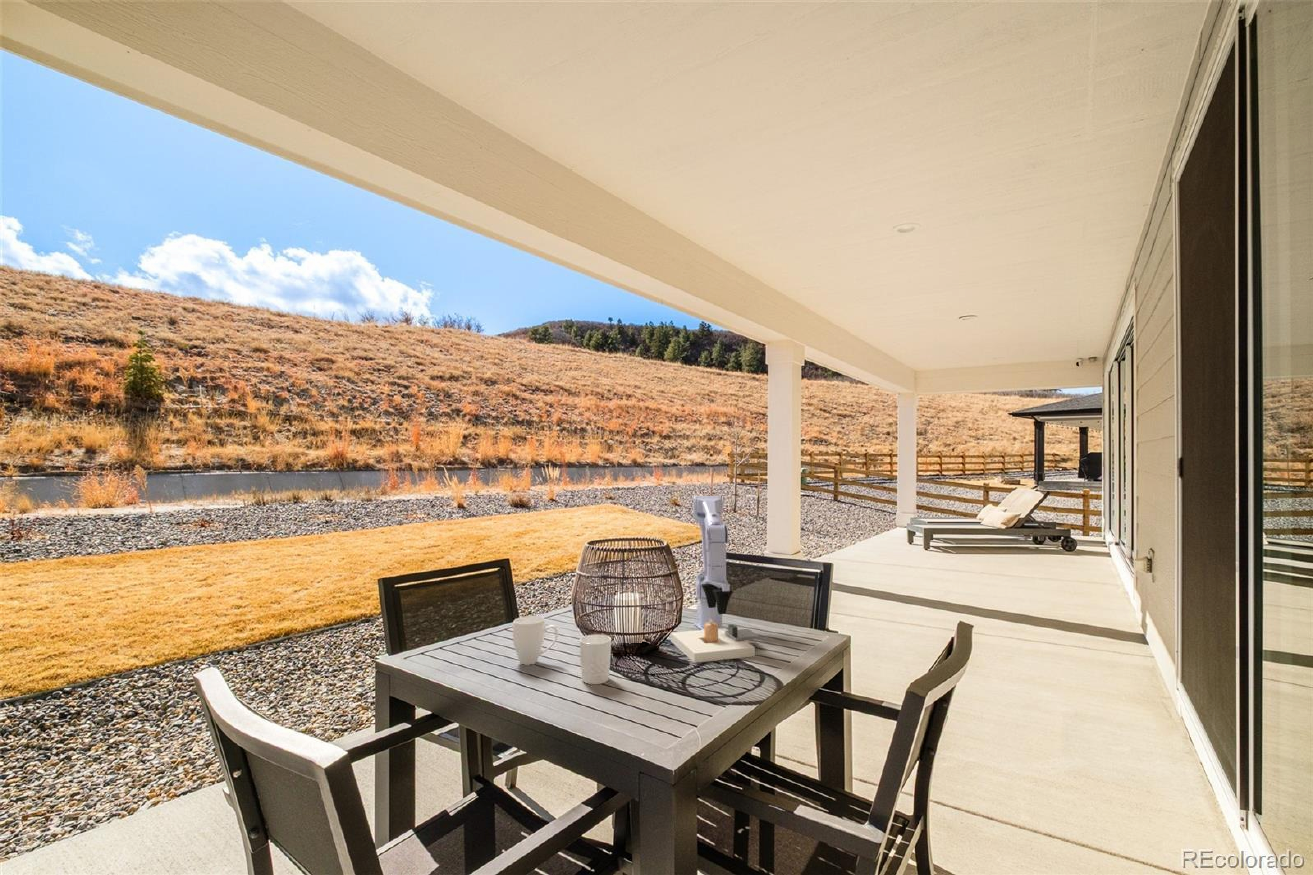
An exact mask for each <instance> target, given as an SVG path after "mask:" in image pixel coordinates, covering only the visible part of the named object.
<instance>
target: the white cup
mask: <svg viewBox="0 0 1313 875" xmlns="http://www.w3.org/2000/svg"><path fill="white" fill-rule="evenodd" d="M611 650H612V637H610V636H609V635H606V634H588V635H583V636H581V637H580V638H579V655H580V656H579V657H580V658H579V659H580V670H581V681H582V682H583V683H584V682H585V684H587V683H588V684H589V685H600V684H604V683H606V682H608V681H609V680H610V669H611V658H612V657H611V656H612V654H611V653H612V651H611Z"/></svg>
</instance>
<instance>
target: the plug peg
mask: <svg viewBox="0 0 1313 875" xmlns="http://www.w3.org/2000/svg"><path fill="white" fill-rule="evenodd" d="M715 642H718V624H717V623H714V622H713V621H711V619H709V622H708V623H705V624H704V643H715Z"/></svg>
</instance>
